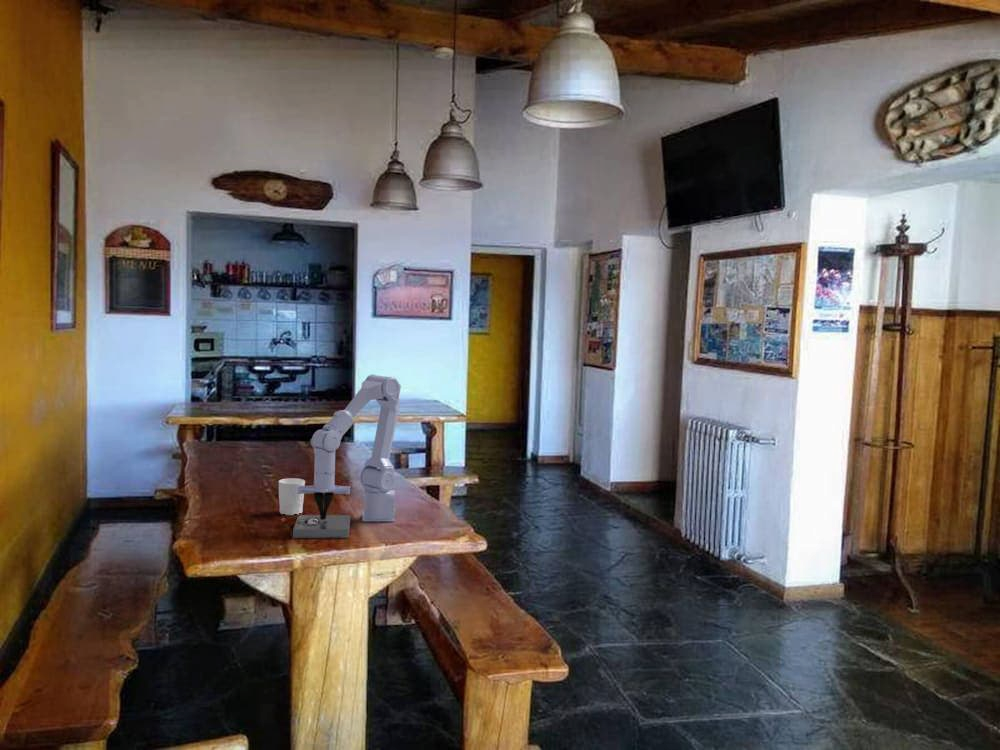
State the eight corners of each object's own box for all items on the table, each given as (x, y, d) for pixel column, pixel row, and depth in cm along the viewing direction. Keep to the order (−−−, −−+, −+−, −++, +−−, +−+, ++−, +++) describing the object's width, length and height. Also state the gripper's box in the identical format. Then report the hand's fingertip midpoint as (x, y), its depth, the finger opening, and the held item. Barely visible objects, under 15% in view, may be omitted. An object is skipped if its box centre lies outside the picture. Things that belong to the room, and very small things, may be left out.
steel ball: (303, 524, 215) (310, 533, 215) (306, 521, 212) (313, 531, 212) (312, 517, 217) (319, 526, 217) (315, 514, 214) (322, 524, 214)
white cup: (277, 516, 228) (278, 483, 227) (277, 509, 235) (278, 478, 235) (304, 515, 230) (305, 483, 229) (303, 509, 238) (304, 478, 237)
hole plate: (350, 523, 224) (350, 515, 223) (348, 538, 209) (348, 529, 209) (298, 523, 221) (298, 515, 221) (292, 538, 206) (293, 529, 206)
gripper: (296, 474, 209) (295, 522, 210) (349, 474, 211) (348, 522, 212) (299, 469, 216) (298, 515, 217) (350, 469, 218) (349, 515, 219)
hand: (323, 518), depth 215 cm, fingers closed
